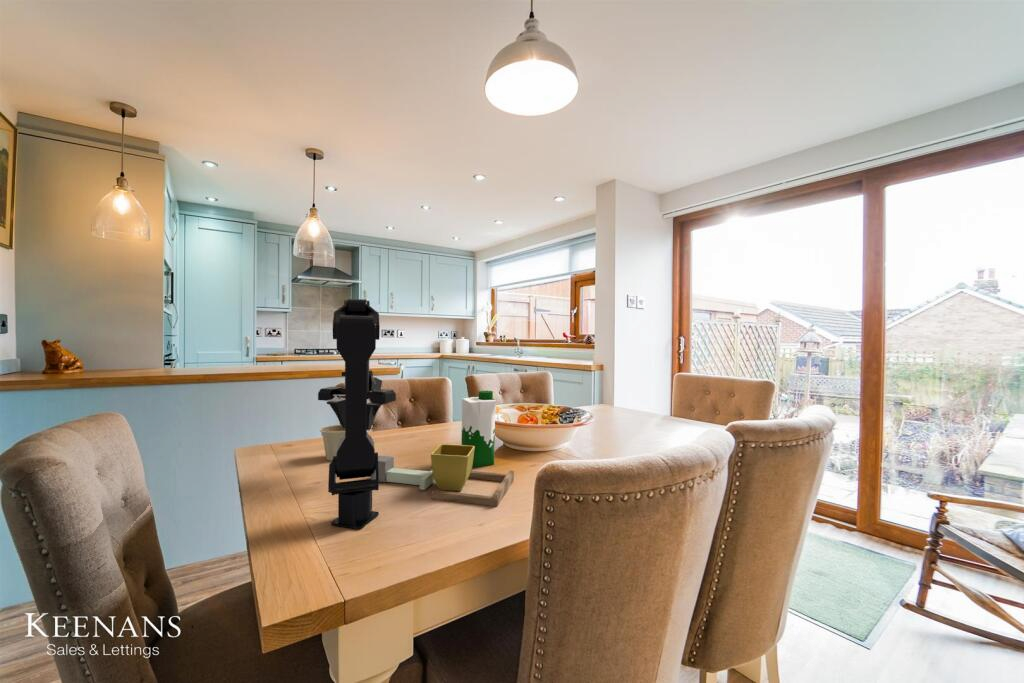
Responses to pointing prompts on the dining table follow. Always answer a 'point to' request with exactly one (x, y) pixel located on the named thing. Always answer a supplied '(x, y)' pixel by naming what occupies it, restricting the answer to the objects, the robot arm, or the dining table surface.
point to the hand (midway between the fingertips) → (356, 429)
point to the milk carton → (479, 427)
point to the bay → (480, 499)
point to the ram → (402, 474)
